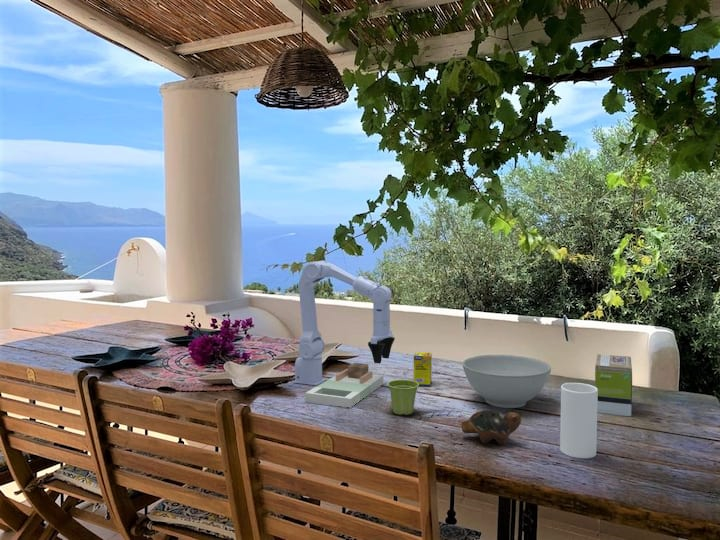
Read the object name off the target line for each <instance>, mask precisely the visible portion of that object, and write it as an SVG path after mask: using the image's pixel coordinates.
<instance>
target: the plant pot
mask: <svg viewBox="0 0 720 540" xmlns="http://www.w3.org/2000/svg"><path fill="white" fill-rule="evenodd" d="M387 386H388V390H389V392H390V398H391V400H390V401H391V408H392V412H393V413H394V414H396V415H399V416H400V415H401V416H402V415H405V416H409V415H412V414H413V413H414V407H415V402H416V395H417V391H418V387H420V386H419V383H417V382H415V381H414V380H410V379H393V380H390V381H388V382H387Z"/></svg>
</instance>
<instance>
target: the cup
mask: <svg viewBox="0 0 720 540" xmlns="http://www.w3.org/2000/svg"><path fill="white" fill-rule="evenodd" d="M597 401H598V389H597V388H596V387H595V385H591V384H588V383H583V382H565V383H562V385H561V386H560V431H559V432H560V435H559V450H560V452H561V453H563V454H564V455H567V456H568V457H571V458H577V459H591V458H594V457H596V455H597V441H598V438H597V437H598V434H597V433H598V431H597V430H598V412H597Z"/></svg>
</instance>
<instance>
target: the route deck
mask: <svg viewBox="0 0 720 540" xmlns="http://www.w3.org/2000/svg"><path fill="white" fill-rule="evenodd" d="M384 383H385V382H384V375H380V374H373V371H372V370H371V371H369V370H368V373H366V374H365V375H363V376H362V377H360V379H356V378H348V368H346V369H344V370H342V371H340V372H338V373H337V374H335V375H334V376H332V377H331V378H329V379H327V380H325V381H324V382H322V383H320V384H318V385H315V387H313V388H311V389H310V390H308V391H306V392H305V394H304V396H305V397H304V399H305V400H304V401H305V403H309V404H317V405H324V406H330V405H332V407H338V406H342V407H341V408H345V407H349V408H348V409H352V408H353V407H355V406H356V405H357V404H359V403H360V402H361V401H363V400H364V399H365V398H367V397H368V396H369V395H371V394H372V393H374V392H375V391H376V390H377V389H379V388H381V385H382V384H383V385H384ZM383 385H382V386H383ZM378 387H379V388H378ZM374 390H375V391H374ZM370 393H371V394H370ZM366 396H367V397H366ZM363 398H364V399H363ZM362 399H363V400H362ZM360 400H361V401H360ZM359 401H360V402H359ZM358 402H359V403H358ZM356 403H357V404H356ZM355 404H356V405H355ZM354 405H355V406H354ZM352 406H353V407H352ZM351 407H352V408H351Z"/></svg>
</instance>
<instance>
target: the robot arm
mask: <svg viewBox="0 0 720 540" xmlns="http://www.w3.org/2000/svg"><path fill="white" fill-rule="evenodd" d="M301 269H302V273H301V275H300V278H299V280H298V285H297V286H298V295H299V304H300V313H301V314H300V315H301V324H302V326H301V327H302V334H301V336H300V337H299V342H300V343H299V346H298V354H299V355H300V356H298V357H296V360H295V363H294V381H293V383H294V384H302V385H311V386H318V385H320V384H322V383H323V382H325V381H327V380H328V378H324V377H323V354H322V353H323V352H324V350H325V347H326V346H325V343H324V342H325V341H324V340H323V337H322V334H321V332H320V331H319V327H318V317H317V307H316V297H315V289H314V288H315V287H316V286H317V284H319V282H320V281H322V280H323V279H326V278H333V279H334V278H335V279H336V280H338V281H341V282H343V283H345V284H348V285H350V286H352V288H353V291H354V292H356V293H358V294H359V295H362V296H364V297H366V298H368V299H370V300H371V302H372V305H373V306H372V307H373V308H372V314H373V315H372V319H373V320H372V324H373V325H372V327H373V328H372V329H373V331H372V332H373V333H372V335H371V337H370V341H368V342H367V346H368V347H369V350H370V351H371V355H372V359H373V362H374V364H381V363H382V359H389V358H390V354H391V351H392V350H391V349H392V346H393V344H394V342H395V337H394V334H392V333H393V331H392V330H391V327H390V325H391V315H390V314H391V307H390V302H391V301H390V300H391V299H392V296H393V294H392V289H390V287H388V286H387V285H381V283H380V282H375V281H373V280H370V279H369V277H368V276H367V275H364V276H363V275H360V276H357V277H356V276H355V275H353V274H352V273H350V272H348V271H346V270H344V269H342V268H340V267H338V266H337V265H335V264H333V263H332V262H328V261H326V260H323V259H322V260H318V261H317V260H316V261H309V262H308V263H306V264H305V265H304V266H303V267H302V268H301Z"/></svg>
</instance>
